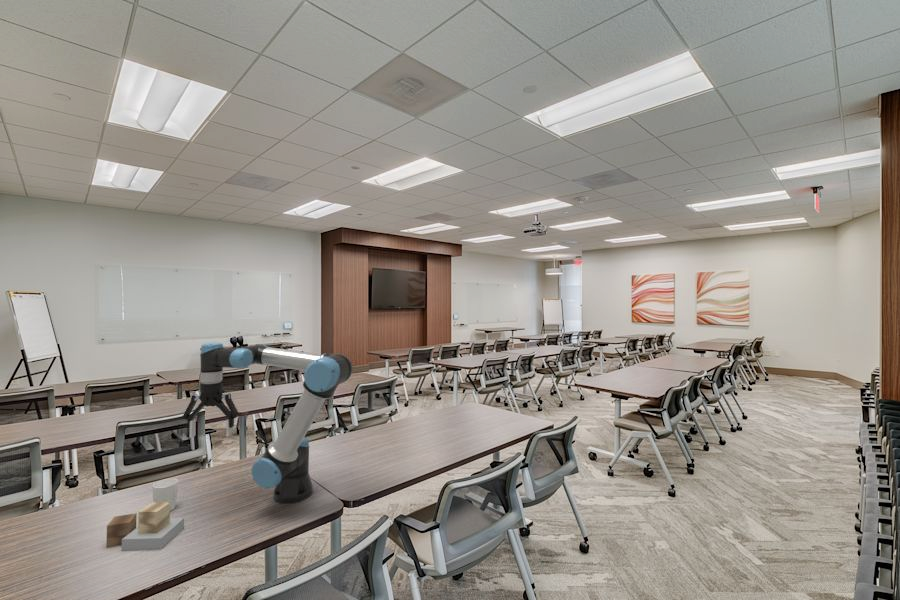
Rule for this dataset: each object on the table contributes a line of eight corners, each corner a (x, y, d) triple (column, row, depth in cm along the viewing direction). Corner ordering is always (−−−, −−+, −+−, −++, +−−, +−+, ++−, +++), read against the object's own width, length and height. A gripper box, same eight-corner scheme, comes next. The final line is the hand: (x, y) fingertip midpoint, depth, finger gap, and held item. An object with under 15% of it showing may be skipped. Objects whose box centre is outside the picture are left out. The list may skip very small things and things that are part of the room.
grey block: (183, 529, 137) (184, 517, 137) (161, 550, 125) (161, 538, 125) (147, 530, 136) (148, 518, 136) (121, 552, 124) (121, 539, 124)
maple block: (169, 523, 134) (169, 502, 134) (156, 533, 128) (156, 511, 128) (152, 522, 134) (152, 502, 134) (138, 533, 128) (138, 511, 128)
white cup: (164, 515, 145) (164, 488, 145) (146, 513, 147) (147, 486, 147) (182, 505, 153) (183, 479, 153) (165, 503, 154) (166, 477, 154)
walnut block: (136, 533, 134) (136, 513, 134) (129, 543, 128) (129, 522, 128) (114, 537, 131) (114, 516, 131) (106, 547, 126) (106, 525, 126)
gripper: (248, 379, 159) (247, 432, 159) (183, 380, 157) (182, 434, 156) (240, 383, 152) (239, 438, 151) (172, 384, 149) (171, 440, 149)
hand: (210, 436), depth 154 cm, fingers open, 13 cm apart
